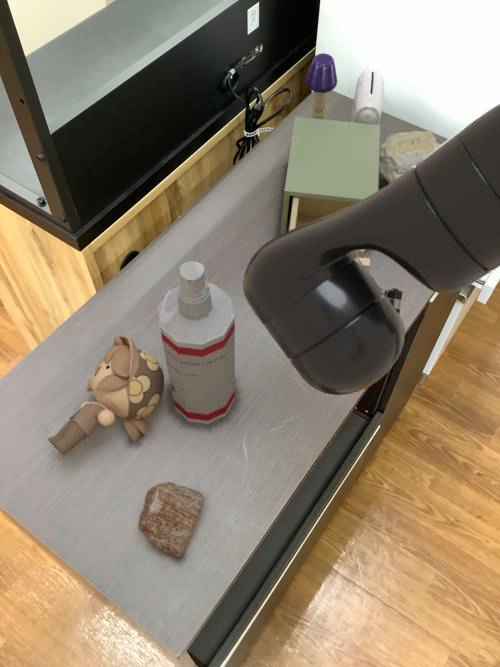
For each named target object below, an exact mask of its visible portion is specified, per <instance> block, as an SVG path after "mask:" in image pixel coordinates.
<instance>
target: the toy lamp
mask: <svg viewBox="0 0 500 667" xmlns="http://www.w3.org/2000/svg"><path fill="white" fill-rule="evenodd" d="M305 85H306V87H307V88H308V89H309V90H310V91H312V92H314V96H313V100H314V101H313V104H312V106H313V110H312V118H315V119H324V117H325V108H326V103H325V102H326V100H327V93H329V92H332V91H333V90H334V89H335V88H336V87H337V85H338V76H337V70H336V63H335V59H334V57H333V56H332V55H331V54H329V53H323V52H322V53H318V54H315V55H314V57H313V58H312V60H311V63H310V66H309V67H308V71H307V74H306V77H305Z"/></svg>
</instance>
